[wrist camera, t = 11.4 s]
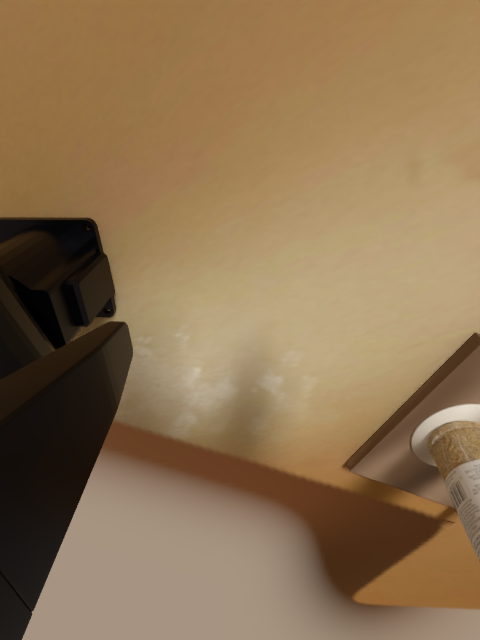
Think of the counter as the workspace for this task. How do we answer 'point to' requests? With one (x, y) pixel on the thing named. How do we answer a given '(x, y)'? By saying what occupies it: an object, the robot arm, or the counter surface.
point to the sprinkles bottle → (460, 471)
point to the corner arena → (424, 428)
